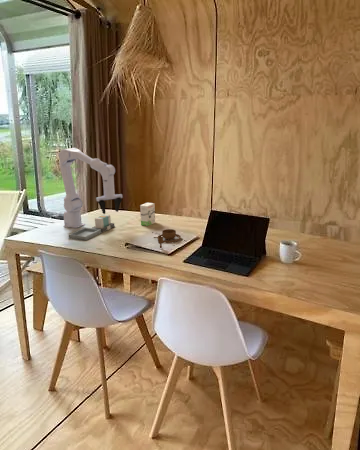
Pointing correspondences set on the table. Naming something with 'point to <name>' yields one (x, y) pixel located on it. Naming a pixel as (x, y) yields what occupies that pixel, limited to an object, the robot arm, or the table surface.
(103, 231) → the frame
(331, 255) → the table surface
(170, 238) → the place setting
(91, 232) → the tray
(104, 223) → the beige teal carton
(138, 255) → the table surface
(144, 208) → the ink box
